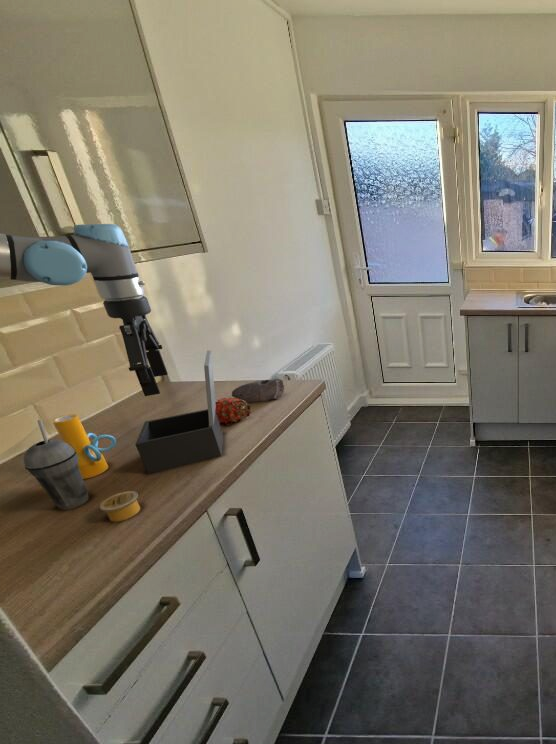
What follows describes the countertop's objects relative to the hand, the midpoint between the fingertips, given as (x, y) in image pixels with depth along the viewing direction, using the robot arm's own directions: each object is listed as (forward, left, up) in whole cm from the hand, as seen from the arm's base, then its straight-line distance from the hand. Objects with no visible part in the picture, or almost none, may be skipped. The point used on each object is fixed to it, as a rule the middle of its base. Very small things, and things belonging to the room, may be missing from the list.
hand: (157, 384), depth 101 cm
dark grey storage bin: (+2, -4, -18) cm, 19 cm away
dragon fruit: (+11, +10, -19) cm, 24 cm away
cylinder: (-17, -2, -19) cm, 25 cm away
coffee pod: (-7, -25, -18) cm, 32 cm away
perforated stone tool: (+19, +22, -19) cm, 34 cm away
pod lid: (+10, -4, -1) cm, 11 cm away
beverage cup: (-17, -15, -19) cm, 30 cm away
